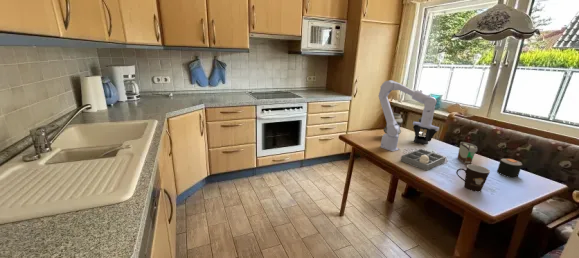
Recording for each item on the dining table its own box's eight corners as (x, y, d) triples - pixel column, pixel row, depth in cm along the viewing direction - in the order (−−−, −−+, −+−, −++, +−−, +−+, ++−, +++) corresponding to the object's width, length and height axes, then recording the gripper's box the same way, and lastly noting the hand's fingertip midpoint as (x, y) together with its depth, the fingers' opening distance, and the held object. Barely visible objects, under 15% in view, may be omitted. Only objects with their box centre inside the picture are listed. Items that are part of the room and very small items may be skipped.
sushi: (493, 171, 134) (497, 157, 131) (505, 170, 136) (509, 156, 133) (509, 178, 126) (514, 164, 124) (521, 177, 128) (526, 163, 126)
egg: (417, 164, 136) (419, 154, 134) (421, 162, 139) (422, 153, 137) (425, 167, 133) (427, 157, 131) (429, 165, 135) (431, 155, 134)
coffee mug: (484, 188, 115) (490, 168, 112) (483, 195, 109) (489, 174, 106) (455, 179, 122) (460, 160, 119) (452, 185, 116) (457, 166, 113)
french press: (410, 139, 181) (416, 109, 174) (421, 139, 182) (427, 109, 176) (420, 145, 169) (427, 112, 163) (432, 145, 171) (440, 112, 164)
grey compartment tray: (400, 160, 142) (401, 155, 141) (419, 153, 154) (420, 148, 153) (426, 170, 131) (427, 165, 130) (444, 161, 143) (445, 156, 142)
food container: (477, 166, 139) (482, 149, 136) (465, 165, 140) (470, 148, 137) (467, 158, 151) (471, 142, 148) (456, 156, 152) (460, 141, 149)
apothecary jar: (379, 137, 184) (382, 113, 179) (388, 134, 191) (391, 111, 186) (393, 141, 174) (398, 117, 169) (403, 139, 181) (407, 115, 176)
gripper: (443, 119, 142) (438, 141, 145) (418, 114, 153) (414, 134, 157) (437, 120, 138) (432, 143, 141) (412, 115, 149) (408, 136, 153)
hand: (422, 139), depth 149 cm, fingers open, 7 cm apart
